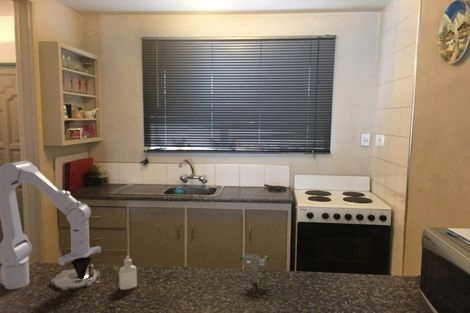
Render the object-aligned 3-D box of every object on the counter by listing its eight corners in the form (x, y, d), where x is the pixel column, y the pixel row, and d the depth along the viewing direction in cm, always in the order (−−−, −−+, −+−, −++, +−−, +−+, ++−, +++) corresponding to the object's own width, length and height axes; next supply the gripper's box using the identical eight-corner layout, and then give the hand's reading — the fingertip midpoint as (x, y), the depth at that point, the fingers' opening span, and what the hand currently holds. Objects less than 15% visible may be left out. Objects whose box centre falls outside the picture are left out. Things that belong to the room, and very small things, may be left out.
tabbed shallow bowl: (43, 289, 116) (43, 273, 116) (67, 270, 132) (67, 256, 131) (85, 290, 116) (85, 275, 115) (104, 271, 131) (104, 257, 131)
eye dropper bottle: (134, 292, 117) (133, 258, 116) (117, 292, 117) (117, 258, 116) (138, 286, 121) (137, 253, 120) (122, 286, 122) (122, 253, 121)
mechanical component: (268, 284, 125) (269, 257, 124) (240, 283, 125) (240, 257, 124) (267, 280, 127) (268, 254, 127) (240, 280, 128) (240, 253, 127)
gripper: (65, 248, 110) (67, 289, 111) (105, 236, 122) (106, 273, 123) (54, 244, 114) (55, 283, 116) (94, 233, 126) (95, 268, 127)
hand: (81, 278), depth 120 cm, fingers closed
